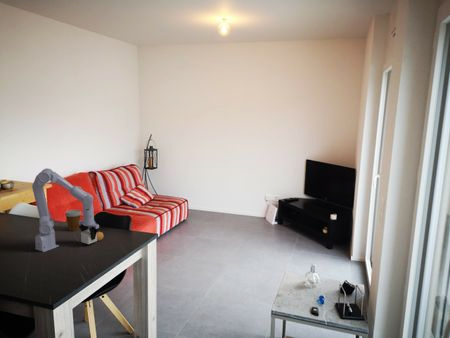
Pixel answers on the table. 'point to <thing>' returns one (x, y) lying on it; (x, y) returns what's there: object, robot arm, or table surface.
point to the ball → (99, 235)
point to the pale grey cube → (87, 237)
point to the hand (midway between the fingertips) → (89, 238)
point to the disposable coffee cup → (73, 219)
